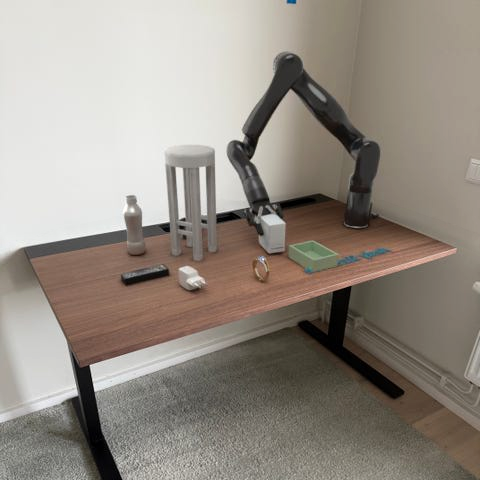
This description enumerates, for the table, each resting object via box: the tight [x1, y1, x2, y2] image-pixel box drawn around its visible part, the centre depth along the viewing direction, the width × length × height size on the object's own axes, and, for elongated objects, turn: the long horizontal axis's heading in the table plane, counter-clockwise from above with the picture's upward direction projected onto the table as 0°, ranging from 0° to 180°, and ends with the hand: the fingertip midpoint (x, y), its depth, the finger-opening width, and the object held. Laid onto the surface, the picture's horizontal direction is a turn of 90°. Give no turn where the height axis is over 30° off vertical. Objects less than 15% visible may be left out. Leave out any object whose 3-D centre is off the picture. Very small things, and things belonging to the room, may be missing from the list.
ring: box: [252, 255, 270, 282], centre depth 147 cm, size 7×3×8 cm, turn 31°
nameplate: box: [304, 247, 392, 275], centre depth 162 cm, size 37×1×5 cm
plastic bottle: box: [122, 194, 147, 255], centre depth 162 cm, size 6×7×20 cm
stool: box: [164, 144, 218, 262], centre depth 158 cm, size 16×16×35 cm
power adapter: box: [177, 265, 209, 291], centre depth 141 cm, size 11×5×6 cm, turn 39°
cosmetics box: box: [258, 214, 287, 254], centre depth 166 cm, size 10×6×10 cm, turn 18°
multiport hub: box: [120, 263, 170, 286], centre depth 149 cm, size 4×14×2 cm, turn 121°
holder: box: [287, 240, 340, 273], centre depth 160 cm, size 10×14×4 cm
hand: (271, 233), depth 167 cm, fingers closed on cosmetics box, 7 cm apart
